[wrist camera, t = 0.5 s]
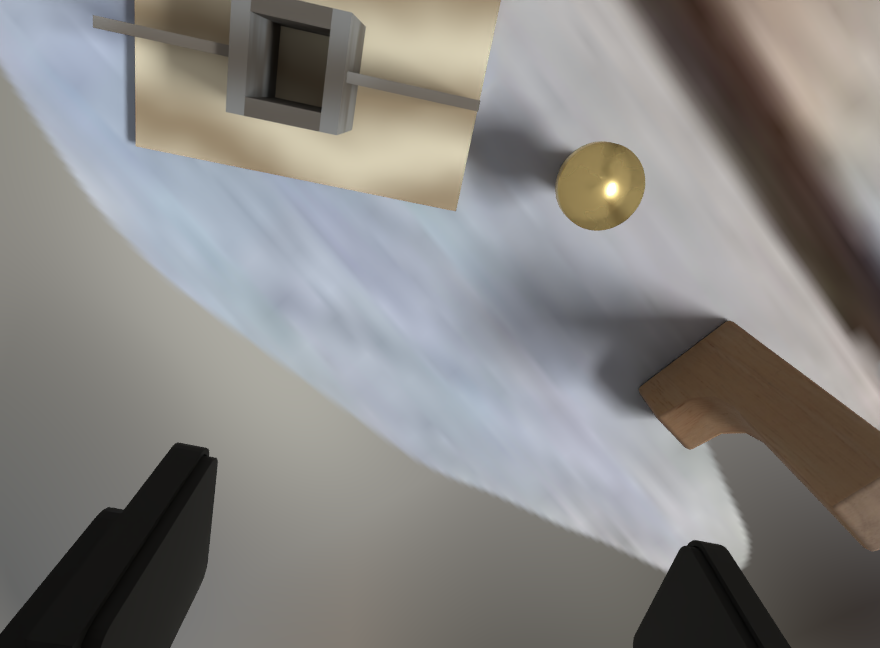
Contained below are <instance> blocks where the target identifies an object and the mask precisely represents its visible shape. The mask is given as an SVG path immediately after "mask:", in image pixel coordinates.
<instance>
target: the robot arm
mask: <svg viewBox="0 0 880 648" xmlns="http://www.w3.org/2000/svg"><path fill="white" fill-rule="evenodd" d="M217 463H218V461H217V458H214V457H209V450H208V449H207V448H204V447H199V446H193V445H188V444H183V443H176V444H174V445H173V447H172V448H171V449H170V450H169V452H168V453H167V454H166V456H165V457H164V458H163V459H162V461H161V462H160V463H159V465H158V466H157V467H156V469H155V470H154V471H153V473H152V474H151V475H150V477H149V478H148V479H147V481H146V482H145V483H144V484H143V486H142V487H141V488H140V490H139V491H138V492H137V494H136V495H135V496H134V497H133V499H132V500H131V501H130V503H129V504H128V505H127V507H126V508H125V509H124V510H122V509H116V508H110V507H108V508H106V509H104V510H103V511H102V512H100V513H99V515H97V517H96V518H95V519H94V520H93V521H92V523H91V524H90V525H89V526H88V528H87V529H86V530H85V531H84V532H83V534H82V535H81V536H80V537H79V538H78V540H77V541H76V542H75V543H74V545H73V546H72V547H71V548H70V549H69V551H68V552H67V553H66V554H65V555H64V557H63V558H62V559H61V561H60V562H59V563H58V564H57V565H56V567H55V568H54V569H53V570H52V571H51V573H50V574H49V575H48V576H47V577H46V579H45V580H44V581H43V582H42V584H41V585H40V586H39V587H38V589H37V590H36V591H35V592H34V593H33V595H32V596H31V597H30V598H29V600H28V601H27V602H26V603H25V604H24V606H23V607H22V608H21V609H20V610H19V612H18V613H17V614H16V615H15V617H14V618H13V619H12V620H11V621H10V623H9V624H8V625H7V626H6V628H5V629H4V630H3V631H2V633H1V634H0V648H170V647H171V644H172V643H173V641H174V639H175V637H176V635H177V632H178V630H179V628H180V626H181V624H182V622H183V620H184V618H185V616H186V614H187V612H188V610H189V608H190V606H191V604H192V602H193V600H194V598H195V595H196V593H197V591H198V589H199V587H200V585H201V583H202V581H203V578H204V575H205V572H206V568H207V563H208V553H209V544H210V534H211V524H212V514H213V504H214V494H215V484H216V475H217ZM633 648H791V647H790V645H789V644H788V643H787V641H786V639H785V638H784V636H783V635H782V633H781V632H780V630H779V628H778V627H777V625H776V624H775V622H774V621H773V619H772V618H771V616H770V614H769V613H768V611H767V610H766V608H765V607H764V605H763V604H762V602H761V601H760V599H759V597H758V596H757V594H756V593H755V591H754V590H753V588H752V587H751V585H750V584H749V582H748V581H747V579H746V577H745V576H744V574H743V573H742V571H741V570H740V568H739V567H738V565H737V564H736V562H735V560H734V559H733V557H732V556H731V554H730V553H729V551H728V550H727V549H726V548H725V547H724V546H722V545H718V544H713V543H708V542H703V541H697V540H693V541H691V542H690V543H689V544H688V545H687V546H683V547H681V549H680V550H679V552H678V554H677V556H676V557H675V559H674V561H673V563H672V565H671V567H670V569H669V571H668V573H667V575H666V577H665V578H664V580H663V582H662V584H661V586H660V588H659V590H658V592H657V594H656V596H655V598H654V599H653V601H652V604H651V605H650V607H649V609H648V611H647V613H646V615H645V617H644V619H643V621H642V622H641V624H640V626H639V628H638V630H637V632H636V634H635V637H634V641H633Z"/></svg>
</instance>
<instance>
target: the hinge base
mask: <svg viewBox="0 0 880 648" xmlns="http://www.w3.org/2000/svg"><path fill="white" fill-rule="evenodd" d="M500 2H501V0H135V24H131V23H126V22H122V21H117V20H113V19H108V18H104V17H99V16H94V15H93V28H98V29H102V30H107V31H112V32H116V33H121V34H125V35H130V36H134V37H135V116H136V146H137V147H142V148H147V149H152V150H157V151H162V152H167V153H172V154H176V155H181V156H186V157H191V158H196V159H201V160H206V161H211V162H216V163H221V164H226V165H231V166H236V167H240V168H245V169H250V170H255V171H260V172H265V173H270V174H275V175H280V176H285V177H290V178H295V179H300V180H304V181H309V182H314V183H319V184H324V185H329V186H334V187H339V188H344V189H349V190H354V191H359V192H364V193H368V194H373V195H378V196H383V197H388V198H393V199H398V200H403V201H408V202H413V203H418V204H423V205H428V206H433V207H437V208H442V209H447V210H452V211H456V208H457V203H458V199H459V194H460V189H461V185H462V180H463V175H464V171H465V166H466V161H467V157H468V152H469V147H470V142H471V138H472V133H473V128H474V124H475V119H476V114H477V112H478V109H479V104H480V95H481V91H482V86H483V81H484V77H485V72H486V67H487V63H488V58H489V53H490V48H491V44H492V39H493V34H494V30H495V25H496V20H497V16H498V11H499V6H500Z"/></svg>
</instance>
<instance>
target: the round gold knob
mask: <svg viewBox="0 0 880 648" xmlns="http://www.w3.org/2000/svg"><path fill="white" fill-rule="evenodd" d="M644 189H645V174H644V170H643V167H642V165H641V163H640V161H639V159H638V158H637V157H636V155H635V154H634V153H633V152H632V151H630V150H629V149H627V148H626V147H624V146H622V145H619V144H615V143H611V142H593V143H589V144H586V145H584V146H582V147H580V148H578V149H577V150H575V151H574V152H573V153H572V154H571V155H570V156H569V157H568V158H567V159H566V160H565V161H564V163H563V164H562V166H561V167H560V170H559V172H558V175H557V179H556V186H555V192H556V199H557V202H558V205H559V207H560V209H561V210H562V212H563V213H564V214H565V215H566V217H567V218H569V219H570V220H571V221H572V222H573V223H575V224H576V225H578V226H580V227H582V228H585V229H588V230H606V229H610V228H613V227H615V226H617V225H619V224H621V223H623V222H624V221H625V220H627V219H628V218H629V217H630V216H631V215H632V214H633V213H634V212H635V210H636V209H637V207H638V206H639V204H640V202H641V199H642V197H643V194H644Z"/></svg>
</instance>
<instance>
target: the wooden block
mask: <svg viewBox="0 0 880 648" xmlns="http://www.w3.org/2000/svg"><path fill="white" fill-rule="evenodd" d="M639 393H640V395H641V396H642V397H643V399H644V400H645V402H646V403H647V405H648V406H649V408H650V409H651V410H652V412H653V413H654V415H655V416H656V418H657V419H658V420H659V421H660V422H661V423H662V424H663V425H664V426H665V427H666V428H667V429H668V430H669V431H670V432H671V433H672V434H673V435H674V436H675V438H676V439H677V440H678V441H679V442H680V443H681V444H682V445H683V446H684V447H685V448H687V449H689V450H690V449H693V448H695V447H697V446H699V445H701V444H703V443H705V442H707V441H709V440H710V439H712V438H714V437H716V436H718V435H720V434H726V433H727V434H728V433H747V434H749V435H750V436H752V437H754V438H756V439H758V440H760V441H762V442H763V443H764V444H765V445H767V447H768V448H769V449H770V450H771V451H772V452H773V453H774V454H775V455H776V456H777V457H778V458H779V459H780V460H781V461H782V462H783V463H784V464H785V466H787V467H788V469H789V470H790V471H791V472H792V473H793V474H794V475H795V476H796V477H797V478H798V479H799V480H800V481H801V482H802V483H803V484H804V485H805V486H806V487H807V488H808V490H809V491H810V492H811V493H812V494H813V495H814V496H815V497H816V498H817V499H818V500H819V501H820V502H821V503H822V504H823V505H824V506H825V507H826V508H827V509H828V511H829V512H830V513H831V514H832V515H833V516H834V517H835V518H836V519H837V520H838V521H839V522H840V523H841V524H842V525H843V526H844V527H845V528H846V529H847V530H848V531H849V533H850V534H851V535H852V536H854V538H856V540H857V541H858V542H859V543H860V544H861V545H862V546H863V547H864V548H866V549H868V550H870V551H877V550H879V549H880V431H879V430H877V429H876V428H875V427H873V426H872V425H871V424H869V423H868V422H867V421H865V420H864V419H863V418H861V417H860V416H859V415H857V414H856V413H855V412H853V411H852V410H851V409H849V408H848V407H847V406H845V405H844V404H843V403H841V402H840V401H839V400H837V399H836V398H835V397H833V396H832V395H831V394H829V393H828V392H826V391H825V390H824V389H822V388H821V387H820V386H818V385H817V384H816V383H814V382H813V381H812V380H810V379H809V378H808V377H806V376H805V375H804V374H802V373H801V372H800V371H798V370H797V369H796V368H794V367H793V366H792V365H790V364H789V363H788V362H786V361H785V360H784V359H782V358H781V357H779V356H778V355H777V354H775V353H774V352H773V351H771V350H770V349H769V348H767V347H766V346H765V345H763V344H762V343H761V342H759V341H758V340H757V339H755V338H754V337H753V336H751V335H750V334H749V333H747V332H746V331H745V330H743V329H742V328H741V327H739V326H738V325H737V324H735V323H734V322H732V321H727V322H725V323H723V324H722V325H721V326H719V327H718V328H717V329H716V330H714V331H713V332H712V333H710V334H709V335H708V336H706V337H705V338H704V339H702V340H701V341H700V342H698V343H697V344H696V345H694V346H693V347H692V348H690V349H689V350H688V351H687V352H685V353H684V354H683V355H681V356H680V357H679V358H677V359H676V360H675V361H673V362H672V363H671V364H669V365H668V366H667V367H665V368H664V369H663V370H661V371H660V372H659V373H658V374H656V375H655V376H654V377H652V378H651V379H650V380H648V381H647V382H646V383H644V384H643V385H642V386H640V388H639Z"/></svg>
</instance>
